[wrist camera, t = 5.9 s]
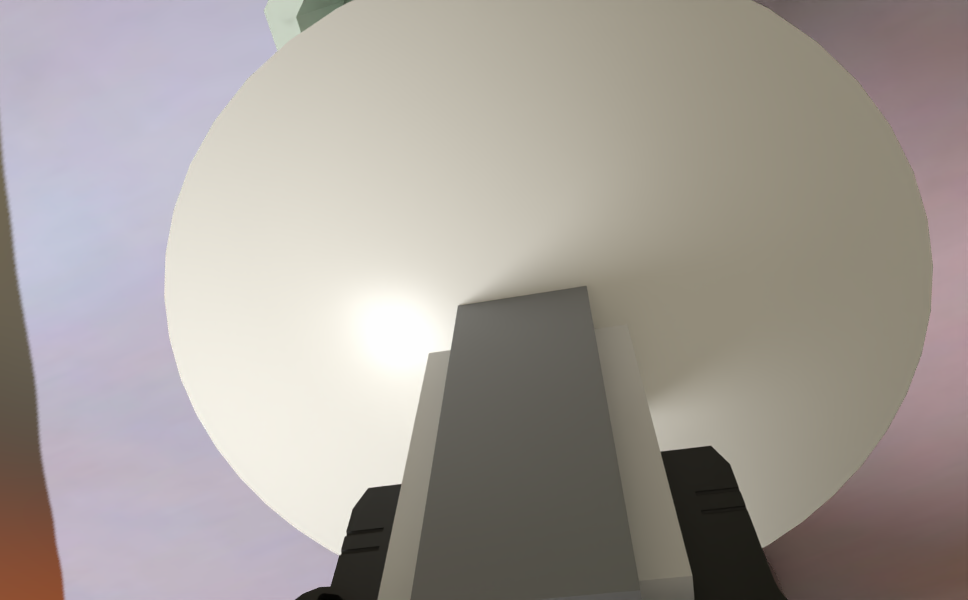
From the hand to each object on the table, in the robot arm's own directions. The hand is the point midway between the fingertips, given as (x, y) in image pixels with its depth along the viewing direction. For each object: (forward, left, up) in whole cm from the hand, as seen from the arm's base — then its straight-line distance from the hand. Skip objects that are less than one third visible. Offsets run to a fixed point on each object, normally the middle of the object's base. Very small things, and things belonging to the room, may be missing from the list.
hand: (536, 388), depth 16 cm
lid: (0, 0, -3) cm, 3 cm away
